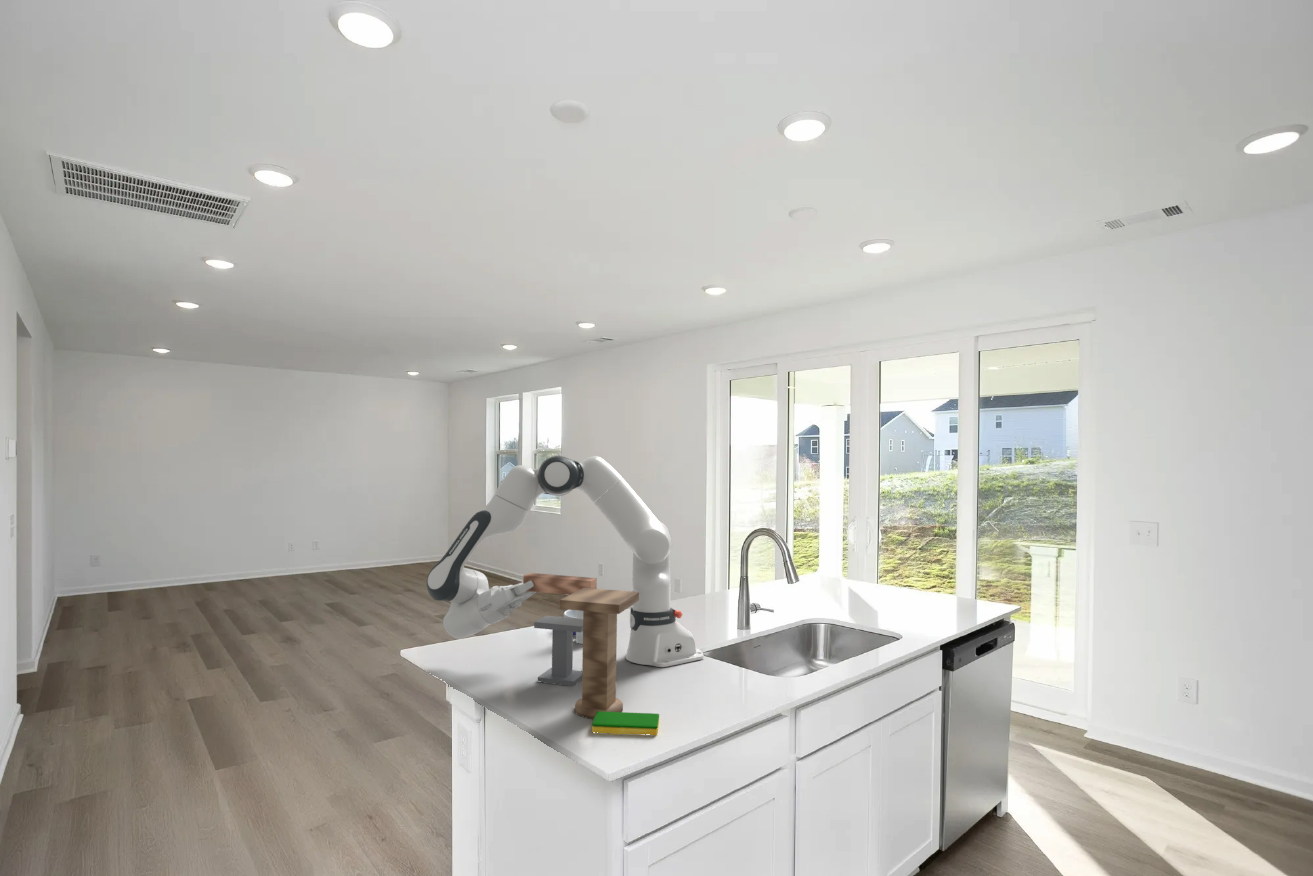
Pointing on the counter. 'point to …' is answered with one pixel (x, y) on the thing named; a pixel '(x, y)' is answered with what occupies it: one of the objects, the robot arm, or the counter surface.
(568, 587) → the block
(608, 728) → the dish sponge
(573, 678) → the low stand
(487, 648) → the counter surface
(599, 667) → the walnut pedestal
